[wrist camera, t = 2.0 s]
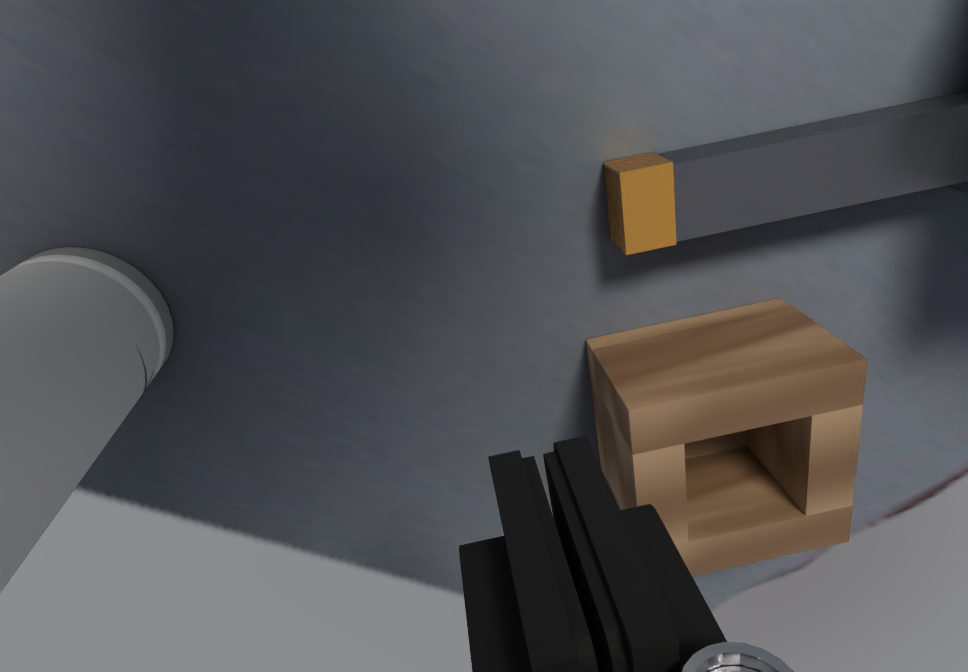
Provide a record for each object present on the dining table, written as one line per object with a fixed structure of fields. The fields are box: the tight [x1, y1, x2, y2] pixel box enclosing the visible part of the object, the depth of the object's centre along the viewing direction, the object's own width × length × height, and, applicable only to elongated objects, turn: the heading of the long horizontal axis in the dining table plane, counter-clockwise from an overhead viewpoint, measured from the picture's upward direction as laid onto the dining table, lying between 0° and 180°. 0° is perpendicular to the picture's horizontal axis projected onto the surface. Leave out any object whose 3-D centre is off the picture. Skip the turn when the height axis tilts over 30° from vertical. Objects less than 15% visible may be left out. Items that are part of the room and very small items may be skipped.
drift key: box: [603, 91, 968, 255], centre depth 25 cm, size 3×16×2 cm, turn 100°
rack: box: [586, 298, 868, 576], centre depth 28 cm, size 9×9×6 cm
